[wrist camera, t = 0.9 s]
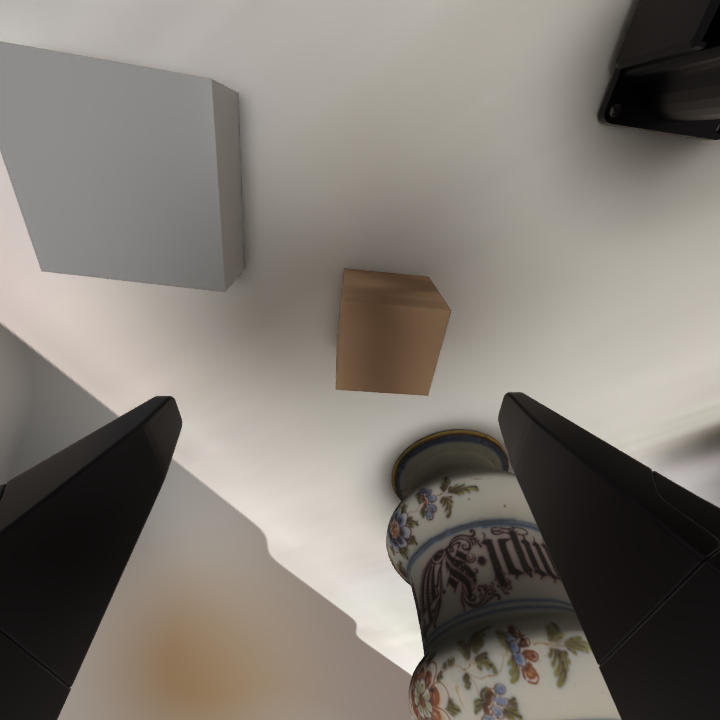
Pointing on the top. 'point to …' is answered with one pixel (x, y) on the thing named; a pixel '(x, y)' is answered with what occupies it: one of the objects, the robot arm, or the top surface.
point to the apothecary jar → (486, 592)
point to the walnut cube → (389, 332)
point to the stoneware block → (123, 168)
